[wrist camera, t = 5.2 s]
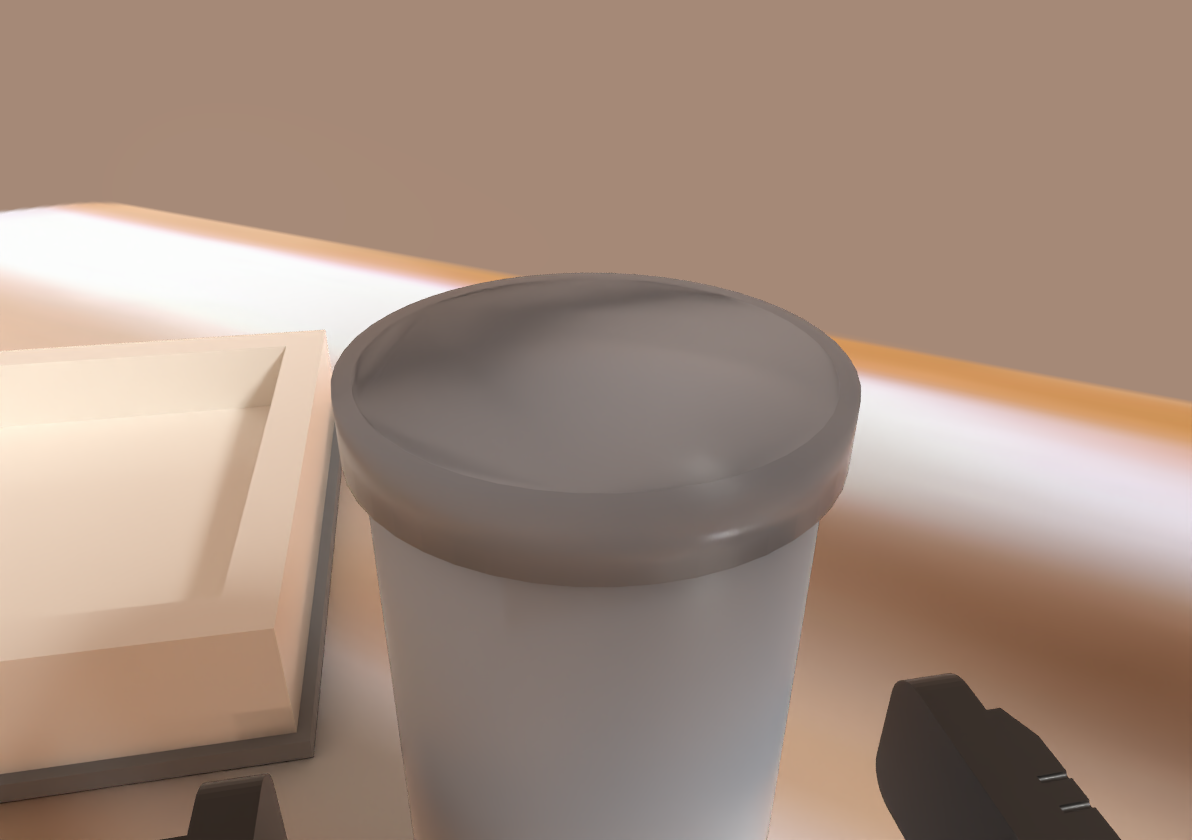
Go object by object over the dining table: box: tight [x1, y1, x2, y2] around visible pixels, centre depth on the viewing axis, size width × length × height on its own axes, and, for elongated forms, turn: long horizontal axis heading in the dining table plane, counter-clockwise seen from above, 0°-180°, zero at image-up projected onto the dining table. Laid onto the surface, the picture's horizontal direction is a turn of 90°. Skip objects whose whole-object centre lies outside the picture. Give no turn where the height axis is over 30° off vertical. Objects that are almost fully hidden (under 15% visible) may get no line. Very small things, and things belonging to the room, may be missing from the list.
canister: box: [331, 273, 861, 840], centre depth 12 cm, size 5×5×12 cm
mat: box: [0, 423, 342, 803], centre depth 25 cm, size 16×16×1 cm
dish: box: [0, 330, 335, 774], centre depth 24 cm, size 15×15×3 cm
